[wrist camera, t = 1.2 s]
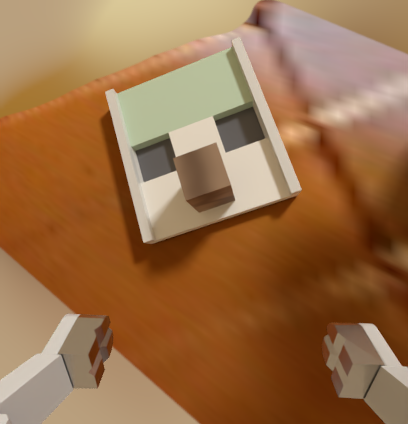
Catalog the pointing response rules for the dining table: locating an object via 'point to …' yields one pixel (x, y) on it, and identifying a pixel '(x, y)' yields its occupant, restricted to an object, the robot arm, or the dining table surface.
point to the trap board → (199, 141)
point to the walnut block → (204, 178)
